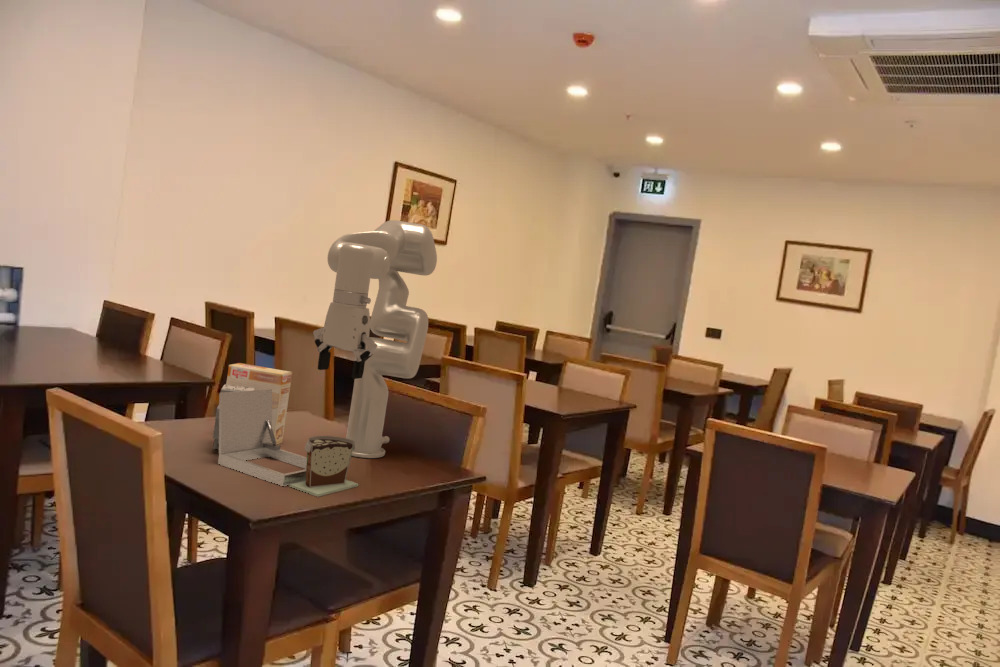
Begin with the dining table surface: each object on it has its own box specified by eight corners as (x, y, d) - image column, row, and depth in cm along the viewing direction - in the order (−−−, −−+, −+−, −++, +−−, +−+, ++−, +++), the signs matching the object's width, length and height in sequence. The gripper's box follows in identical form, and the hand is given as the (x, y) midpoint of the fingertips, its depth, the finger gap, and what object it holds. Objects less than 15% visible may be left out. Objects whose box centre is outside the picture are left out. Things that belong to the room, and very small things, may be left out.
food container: (334, 475, 176) (340, 434, 176) (349, 483, 172) (356, 441, 172) (288, 480, 167) (294, 436, 167) (303, 488, 163) (310, 443, 163)
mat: (331, 477, 177) (331, 474, 177) (358, 486, 173) (358, 483, 173) (289, 487, 164) (289, 484, 164) (317, 496, 161) (318, 494, 161)
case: (260, 452, 188) (269, 388, 187) (330, 475, 178) (340, 408, 177) (209, 461, 174) (219, 392, 173) (282, 486, 164) (293, 413, 163)
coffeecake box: (283, 442, 202) (293, 371, 201) (272, 447, 195) (282, 374, 194) (230, 432, 204) (240, 362, 202) (217, 437, 196) (228, 364, 195)
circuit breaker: (209, 455, 179) (218, 394, 178) (216, 441, 192) (224, 384, 191) (242, 458, 181) (251, 397, 180) (247, 444, 194) (255, 387, 193)
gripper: (391, 306, 169) (380, 380, 170) (330, 293, 176) (320, 365, 178) (371, 305, 162) (360, 382, 163) (309, 292, 169) (299, 367, 171)
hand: (339, 373), depth 171 cm, fingers open, 9 cm apart
